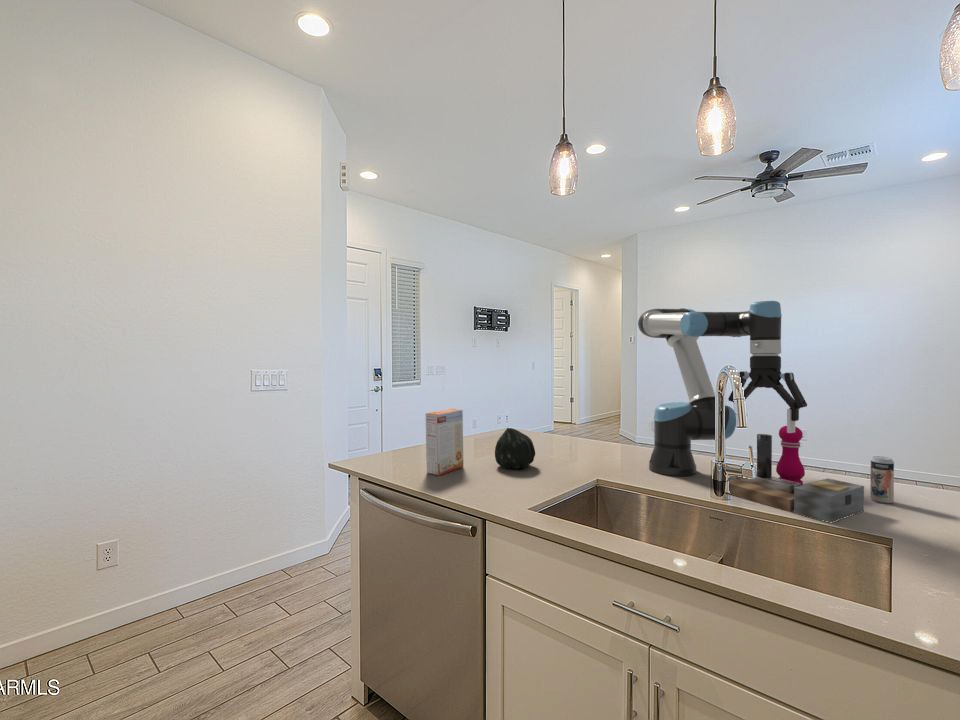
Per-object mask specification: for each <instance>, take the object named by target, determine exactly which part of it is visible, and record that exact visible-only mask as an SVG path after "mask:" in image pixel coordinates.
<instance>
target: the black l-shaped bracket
mask: <svg viewBox="0 0 960 720" xmlns="http://www.w3.org/2000/svg"><path fill="white" fill-rule="evenodd" d="M772 454H773V435H771V434H767V433H757V434H756V473H757V474H756V477H760V478H764V479H768V480H772V481H776V482H780V483H785V484H789V485H792V491H793V492H794V488H795V487H798V486H801V484H799V483H795V482H790V481H786V480H782V479H778V478H779V477H776V478H773V477H774V476H773V475H772V471H773V470H772V468H773V464H772V462H773V455H772Z"/></svg>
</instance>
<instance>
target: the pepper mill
mask: <svg viewBox="0 0 960 720" xmlns="http://www.w3.org/2000/svg"><path fill="white" fill-rule="evenodd" d="M803 435H804V434H803V432H802V430H801V429H800V428H799V427H798V426H795V432H794V433H787V425H783V426H782V427H780V428H779V430H778V437H779V438H780V439H781V440H780V445H781V449H782V450H781V451H782V453H781V456H780V458H779V460H778V462H777V464H776V466H775V467H776V468H775V472H776V474H778V476H779V477H778V478H780V479H784V480H788V481H793V482H797V483H800V484H801V485H804V483H803V482H804V481H803V480H801V479H803V478H804V477H805V474H806V472H805V468H804V464H803V463H802V462H801V458H800V455H799V448H801V442H800V441H801V440H802V439H803Z"/></svg>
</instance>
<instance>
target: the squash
mask: <svg viewBox="0 0 960 720" xmlns="http://www.w3.org/2000/svg"><path fill="white" fill-rule="evenodd" d="M494 457H495V461H496V464H498V465H499V466H500V467H502V468H505V469H507V470H509V469H512V468H513V469H514V470H519V469H526V468H528V467H529V465H530V464H532V463H533V462H534V461H535V457H536V450H535V445H534V442H533V441H532V439H531V438H530V437H529V436H528V435H527V434H525V433H523V432H521V431H519V430H517V429H515V428H512V427H506V429H505V430H504V432H503V433H502V434H501V435H500V437H499V438H498V440H497V441H496V444H495V449H494Z"/></svg>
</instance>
